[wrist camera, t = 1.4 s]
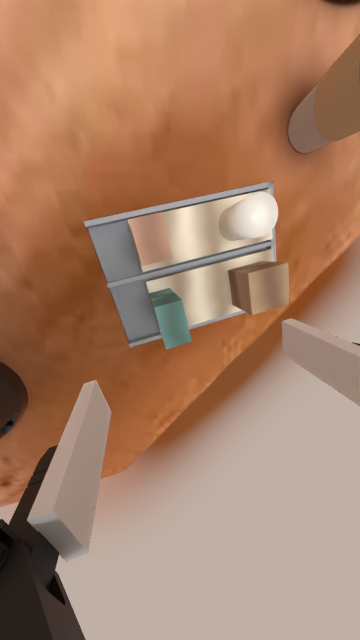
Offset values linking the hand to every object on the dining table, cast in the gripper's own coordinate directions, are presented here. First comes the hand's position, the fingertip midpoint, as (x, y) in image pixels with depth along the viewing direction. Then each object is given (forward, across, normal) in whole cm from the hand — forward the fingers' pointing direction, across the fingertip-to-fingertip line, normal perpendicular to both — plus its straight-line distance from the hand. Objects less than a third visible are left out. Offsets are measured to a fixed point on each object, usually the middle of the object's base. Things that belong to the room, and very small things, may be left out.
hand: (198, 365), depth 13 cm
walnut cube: (+16, +13, 0) cm, 21 cm away
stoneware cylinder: (+16, +12, +9) cm, 22 cm away
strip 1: (+19, +8, +9) cm, 22 cm away
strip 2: (+19, +8, 0) cm, 21 cm away
